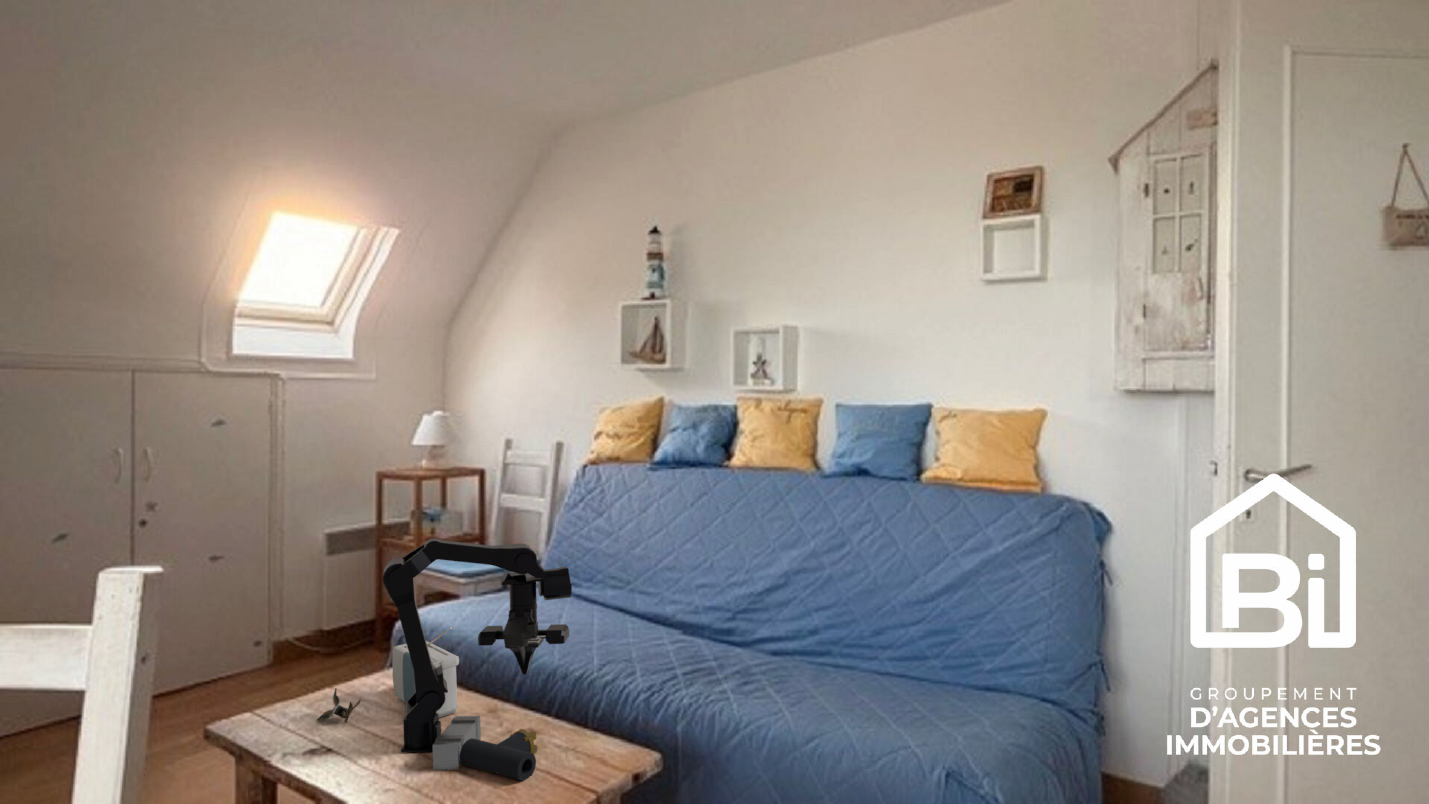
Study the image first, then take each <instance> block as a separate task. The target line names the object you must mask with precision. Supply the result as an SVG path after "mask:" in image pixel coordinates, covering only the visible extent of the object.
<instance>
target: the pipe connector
mask: <svg viewBox="0 0 1429 804" xmlns="http://www.w3.org/2000/svg"><path fill="white" fill-rule="evenodd" d="M535 740H537V732H536V731H532V730H530V731H529V732H528V731H527V730H526V729H523V728H520V729H519V730H516V731H515V732H513V733H511V734H510V735H509V736H508V738H505V739H504V740H502V741H500V742H498V743H493V742H490V741H489V742H488V741H486V740H482V739H481V740H478V739H473V738H471V739H469V740H467V741H466V742H465V743H464V745H463V746H462V748H461V751H460V761H461V763H462V766H463V765H464V766H466V767H470V768H473V769H477V770H480V771H481V770H482V771H484V772H488V773H492V774H495V775H498V776H503V777H506V778H509V779H514V780H517V781H522V782H524V781H526V780H527V779H529V778H531V777H532V776H533V774H534V772H535V769H536V763H537V762H536V761H537V760H536V756H535V754H536V753H537V752H538V746H537V744H535V742H534V741H535ZM530 776H531V777H530Z"/></svg>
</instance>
